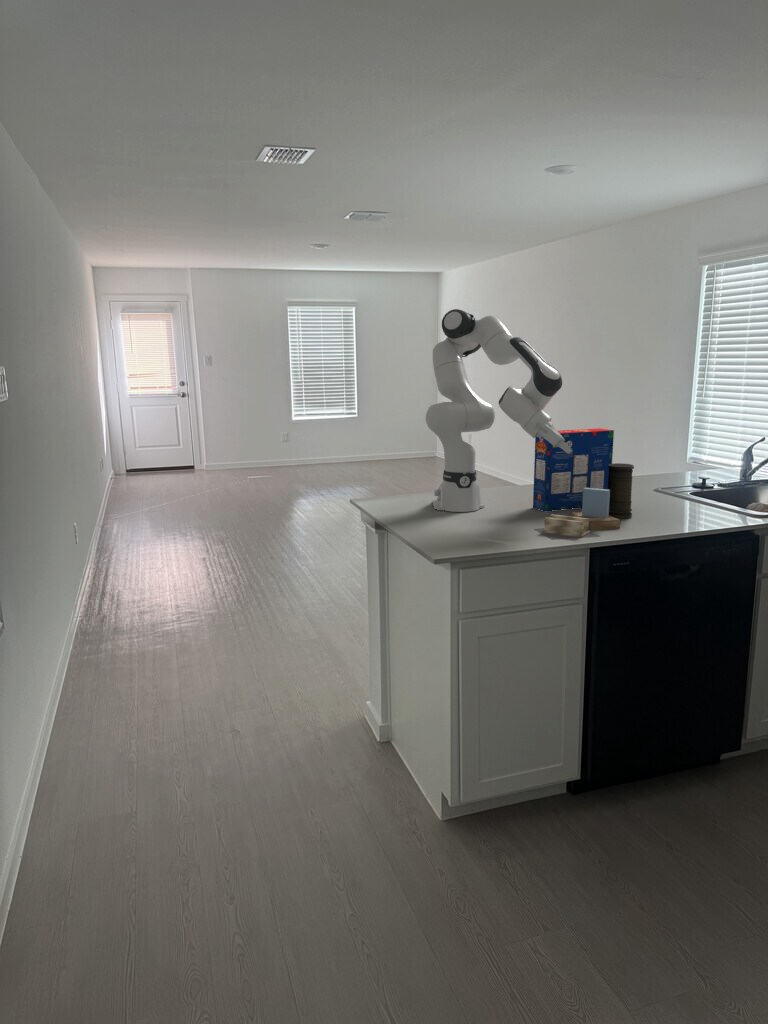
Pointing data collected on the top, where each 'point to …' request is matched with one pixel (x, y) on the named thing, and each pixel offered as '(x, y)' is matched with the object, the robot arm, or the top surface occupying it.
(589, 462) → the blue cardboard box
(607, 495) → the light blue square slab
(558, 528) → the mottled beige block
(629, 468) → the container
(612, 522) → the brown flat block
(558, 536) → the mat
